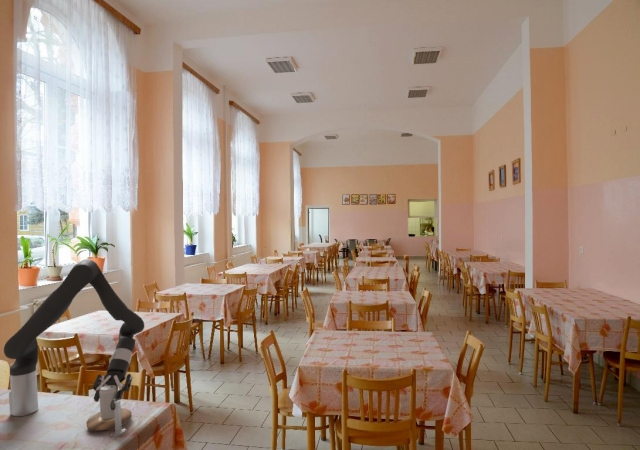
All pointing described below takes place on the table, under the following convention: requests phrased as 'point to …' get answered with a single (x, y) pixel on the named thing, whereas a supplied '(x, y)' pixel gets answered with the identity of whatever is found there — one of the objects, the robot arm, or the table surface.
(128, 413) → the disc
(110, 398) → the beverage can
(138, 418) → the table surface
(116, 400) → the stand
